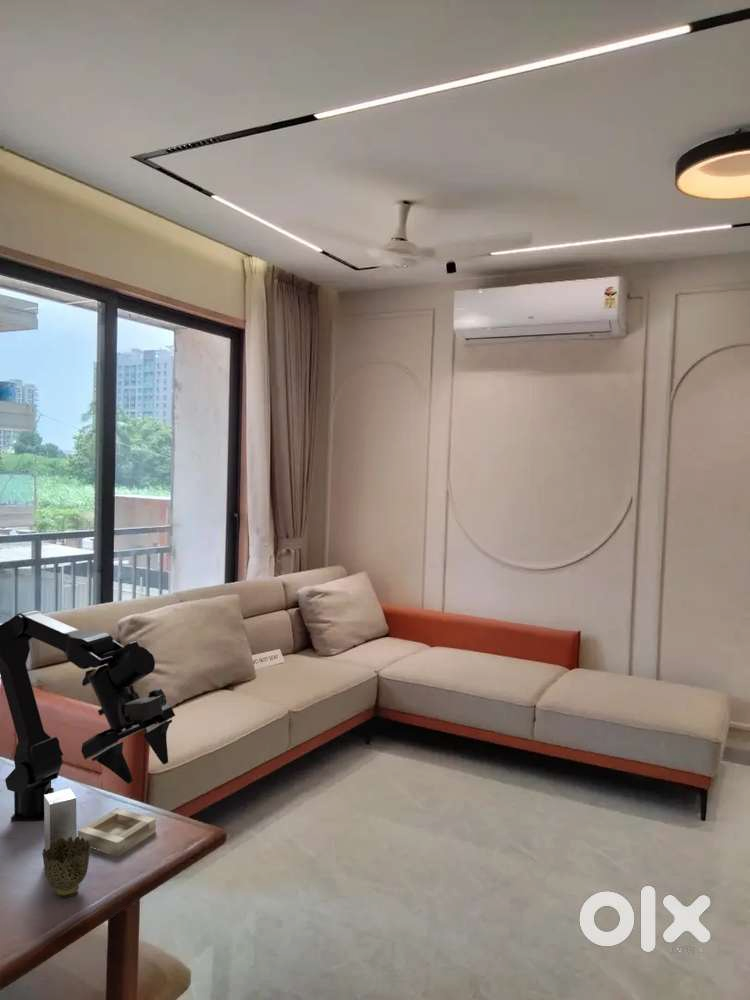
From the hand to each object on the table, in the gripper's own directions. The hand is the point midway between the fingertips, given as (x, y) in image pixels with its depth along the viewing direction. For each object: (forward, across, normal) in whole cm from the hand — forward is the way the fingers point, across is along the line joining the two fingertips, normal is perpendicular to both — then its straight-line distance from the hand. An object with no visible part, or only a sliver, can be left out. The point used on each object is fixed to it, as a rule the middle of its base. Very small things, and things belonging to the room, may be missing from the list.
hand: (148, 772), depth 136 cm
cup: (+11, -16, +10) cm, 22 cm away
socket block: (+8, +1, +16) cm, 18 cm away
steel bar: (+7, -11, +17) cm, 21 cm away
